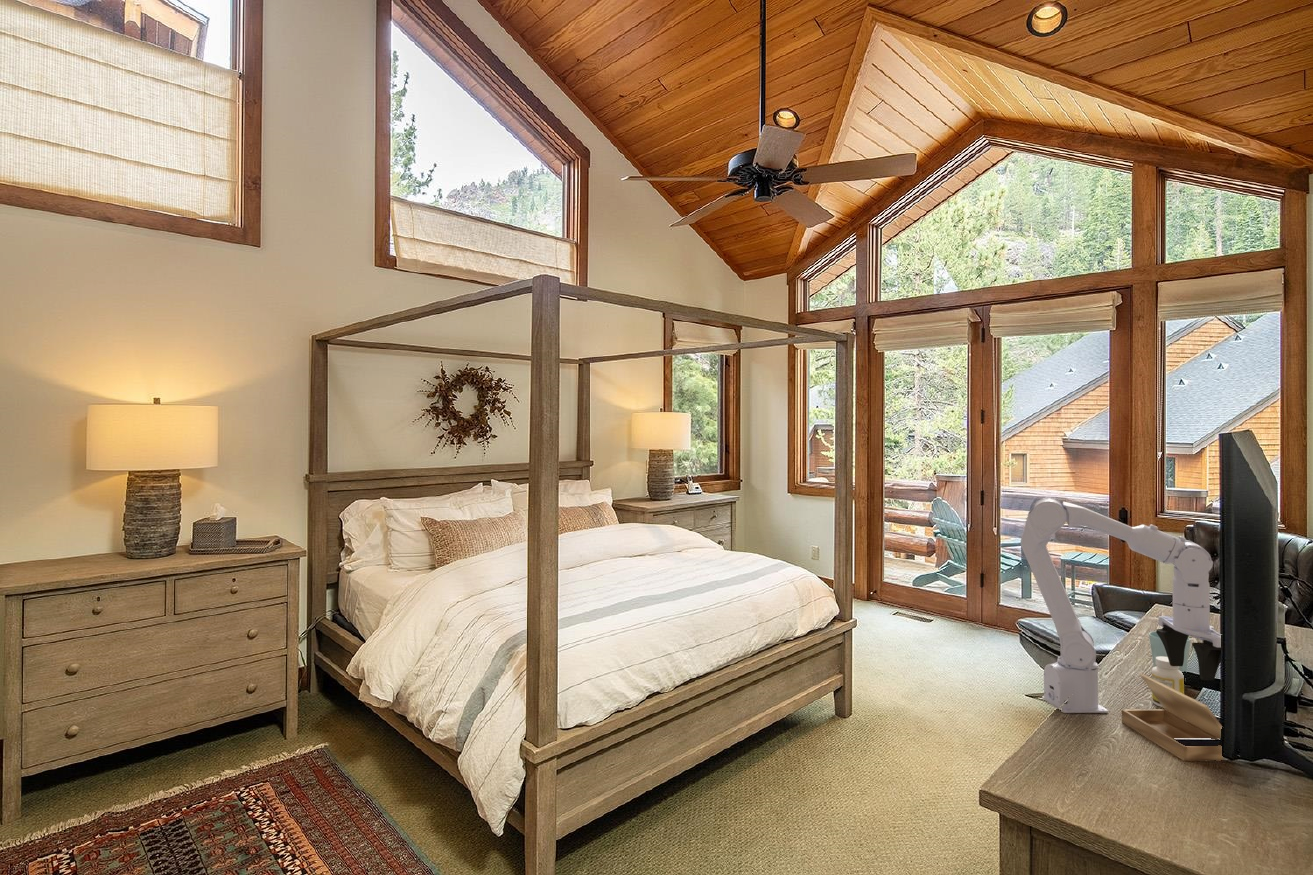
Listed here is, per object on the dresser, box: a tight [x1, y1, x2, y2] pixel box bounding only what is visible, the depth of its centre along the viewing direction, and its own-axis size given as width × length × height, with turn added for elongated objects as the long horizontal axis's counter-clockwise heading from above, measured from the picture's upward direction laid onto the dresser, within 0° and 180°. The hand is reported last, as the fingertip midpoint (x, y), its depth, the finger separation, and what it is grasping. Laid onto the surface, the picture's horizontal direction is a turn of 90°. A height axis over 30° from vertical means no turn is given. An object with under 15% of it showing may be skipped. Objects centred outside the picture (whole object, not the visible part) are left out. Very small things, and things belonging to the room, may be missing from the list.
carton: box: [1121, 708, 1224, 762], centre depth 125 cm, size 8×16×2 cm, turn 179°
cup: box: [1148, 630, 1192, 672], centre depth 154 cm, size 8×8×10 cm
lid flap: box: [1139, 672, 1223, 739], centre depth 125 cm, size 8×16×1 cm
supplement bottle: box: [1151, 656, 1185, 709], centre depth 140 cm, size 5×5×10 cm
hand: (1191, 672), depth 131 cm, fingers open, 7 cm apart
